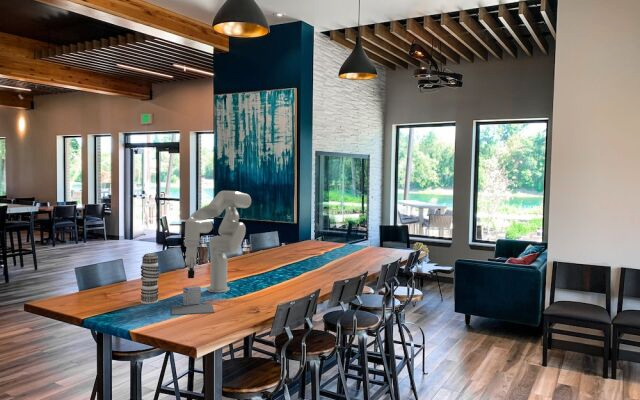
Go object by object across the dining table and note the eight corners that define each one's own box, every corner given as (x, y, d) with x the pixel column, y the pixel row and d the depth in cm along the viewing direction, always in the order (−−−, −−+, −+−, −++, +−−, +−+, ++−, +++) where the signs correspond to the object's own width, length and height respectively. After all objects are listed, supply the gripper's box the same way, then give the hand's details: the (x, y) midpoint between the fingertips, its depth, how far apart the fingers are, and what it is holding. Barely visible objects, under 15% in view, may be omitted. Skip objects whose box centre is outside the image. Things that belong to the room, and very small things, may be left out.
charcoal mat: (171, 307, 240) (171, 306, 240) (212, 305, 246) (212, 304, 246) (171, 315, 226) (171, 314, 226) (214, 312, 232) (214, 311, 232)
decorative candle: (136, 303, 244) (137, 255, 243) (145, 298, 254) (146, 252, 252) (153, 304, 243) (154, 256, 242) (161, 299, 252) (162, 253, 251)
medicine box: (195, 302, 249) (195, 285, 250) (200, 303, 247) (201, 286, 247) (182, 304, 243) (182, 287, 244) (188, 305, 241) (188, 288, 241)
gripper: (184, 241, 257) (183, 275, 257) (185, 245, 243) (183, 281, 243) (198, 241, 259) (197, 275, 260) (200, 245, 245) (198, 280, 245)
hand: (190, 277), depth 251 cm, fingers closed
